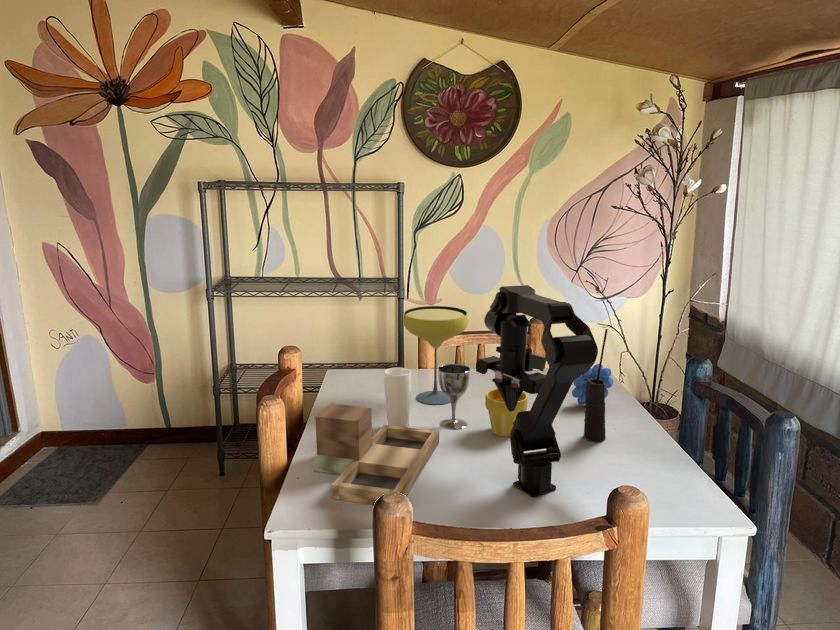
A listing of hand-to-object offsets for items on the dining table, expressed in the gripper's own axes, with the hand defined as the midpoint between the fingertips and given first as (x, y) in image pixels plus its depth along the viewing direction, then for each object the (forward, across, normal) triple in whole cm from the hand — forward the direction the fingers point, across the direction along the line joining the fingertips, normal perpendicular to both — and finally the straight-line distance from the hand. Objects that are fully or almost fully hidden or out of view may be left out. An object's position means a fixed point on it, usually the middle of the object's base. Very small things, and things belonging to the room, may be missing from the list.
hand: (511, 410), depth 143 cm
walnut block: (+9, +20, +31) cm, 38 cm away
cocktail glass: (+12, +42, -10) cm, 45 cm away
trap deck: (+12, +16, +27) cm, 33 cm away
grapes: (+12, +13, -42) cm, 46 cm away
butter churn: (+12, -1, -25) cm, 28 cm away
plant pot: (+12, +13, -10) cm, 20 cm away
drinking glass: (+12, +30, +11) cm, 34 cm away
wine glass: (+12, +24, -2) cm, 27 cm away
